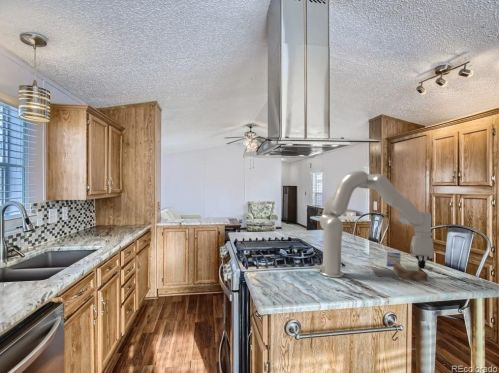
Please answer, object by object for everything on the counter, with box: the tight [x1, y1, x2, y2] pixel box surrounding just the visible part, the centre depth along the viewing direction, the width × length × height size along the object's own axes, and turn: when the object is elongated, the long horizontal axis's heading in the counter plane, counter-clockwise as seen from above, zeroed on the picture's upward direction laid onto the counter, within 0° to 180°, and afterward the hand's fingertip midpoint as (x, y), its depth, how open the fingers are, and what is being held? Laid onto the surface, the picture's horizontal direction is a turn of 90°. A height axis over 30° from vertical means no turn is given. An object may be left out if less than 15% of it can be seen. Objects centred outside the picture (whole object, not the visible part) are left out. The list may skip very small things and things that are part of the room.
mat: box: [371, 267, 400, 279], centre depth 154 cm, size 11×14×1 cm
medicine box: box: [384, 250, 402, 268], centre depth 170 cm, size 8×4×9 cm, turn 76°
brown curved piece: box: [392, 263, 429, 282], centre depth 151 cm, size 12×16×4 cm
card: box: [400, 260, 419, 271], centre depth 151 cm, size 6×9×2 cm, turn 167°
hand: (421, 267), depth 150 cm, fingers closed
